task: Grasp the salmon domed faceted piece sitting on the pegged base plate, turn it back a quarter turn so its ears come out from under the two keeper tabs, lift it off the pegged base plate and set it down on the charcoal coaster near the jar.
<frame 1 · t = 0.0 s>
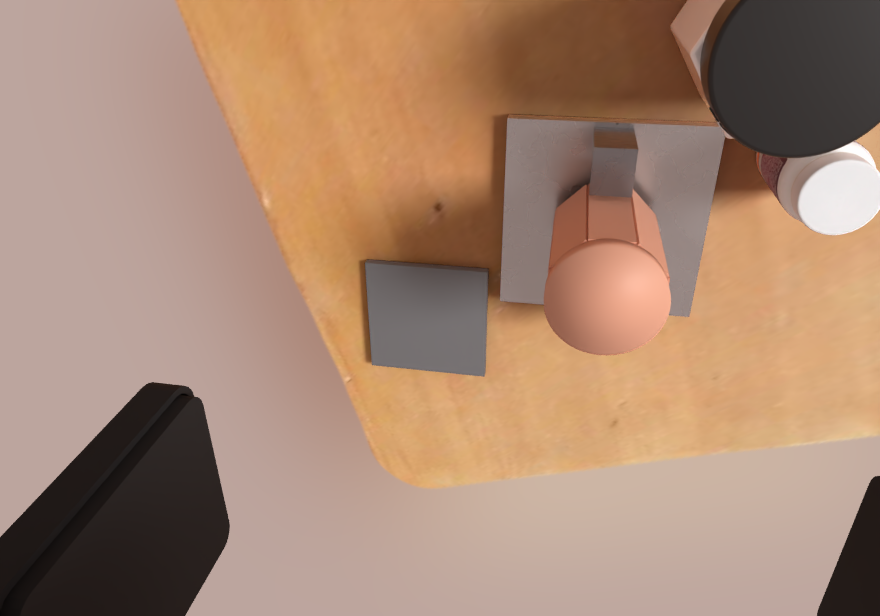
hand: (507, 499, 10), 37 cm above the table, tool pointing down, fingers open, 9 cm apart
jar: (752, 24, 39), on the table
pill bottle: (796, 149, 42), on the table
pegged base plate: (602, 216, 46), on the table
salmon domed faceted piece: (603, 231, 44), point 2 cm above the table, touching pegged base plate
coaster: (427, 317, 52), on the table
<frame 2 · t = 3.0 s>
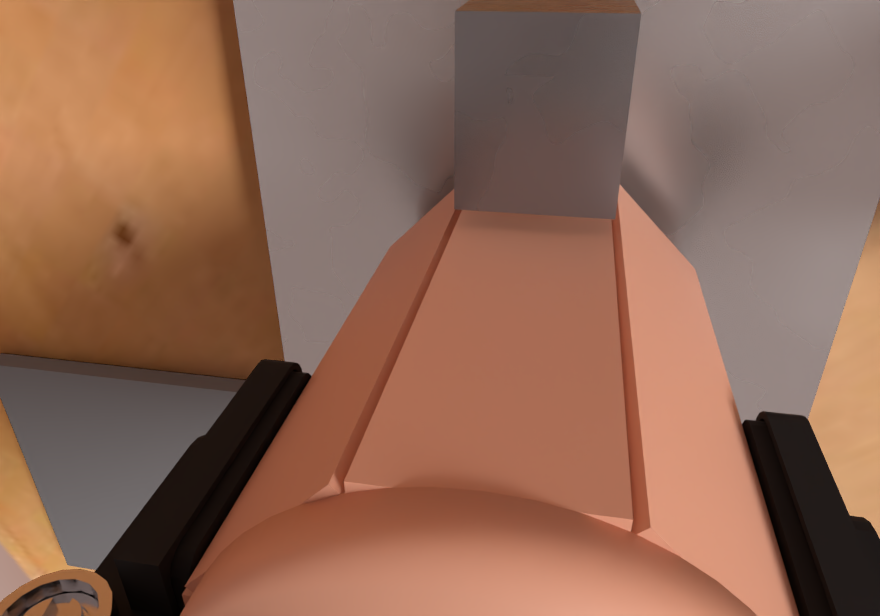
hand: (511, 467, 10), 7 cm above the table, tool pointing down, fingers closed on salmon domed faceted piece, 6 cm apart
pegged base plate: (540, 263, 17), on the table
salmon domed faceted piece: (533, 315, 14), point 2 cm above the table, touching gripper, pegged base plate
coaster: (162, 478, 23), on the table
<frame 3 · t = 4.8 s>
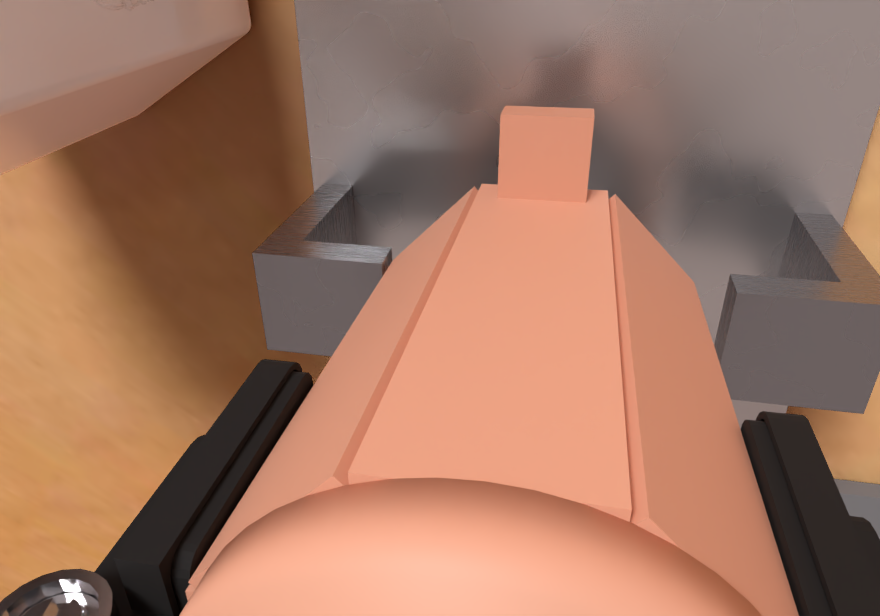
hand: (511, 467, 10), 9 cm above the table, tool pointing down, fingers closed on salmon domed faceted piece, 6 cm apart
pegged base plate: (559, 227, 18), on the table
salmon domed faceted piece: (534, 328, 15), point 5 cm above the table, touching gripper
coaster: (805, 580, 23), on the table
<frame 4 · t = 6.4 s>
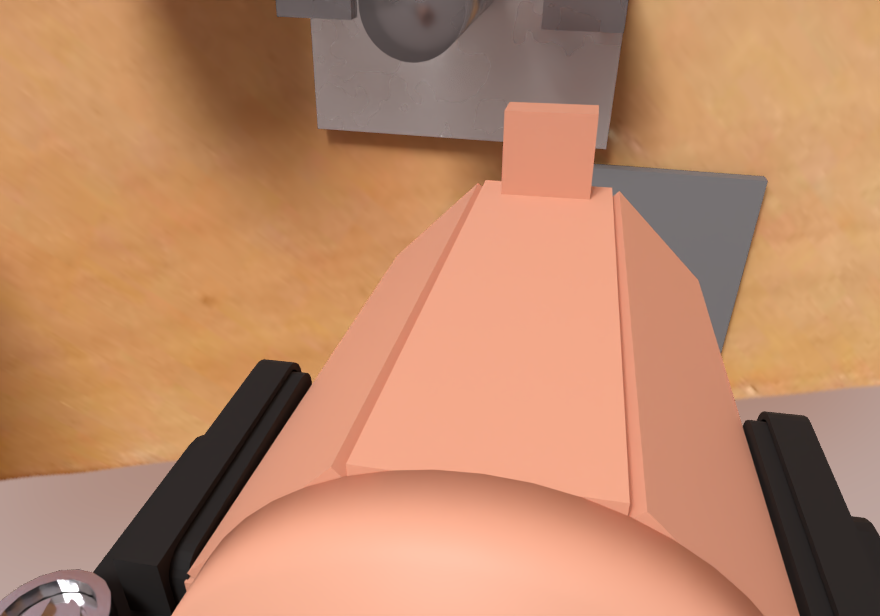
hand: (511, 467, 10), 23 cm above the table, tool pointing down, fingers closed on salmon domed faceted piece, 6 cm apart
salmon domed faceted piece: (537, 325, 15), point 18 cm above the table, touching gripper
coaster: (641, 259, 33), on the table
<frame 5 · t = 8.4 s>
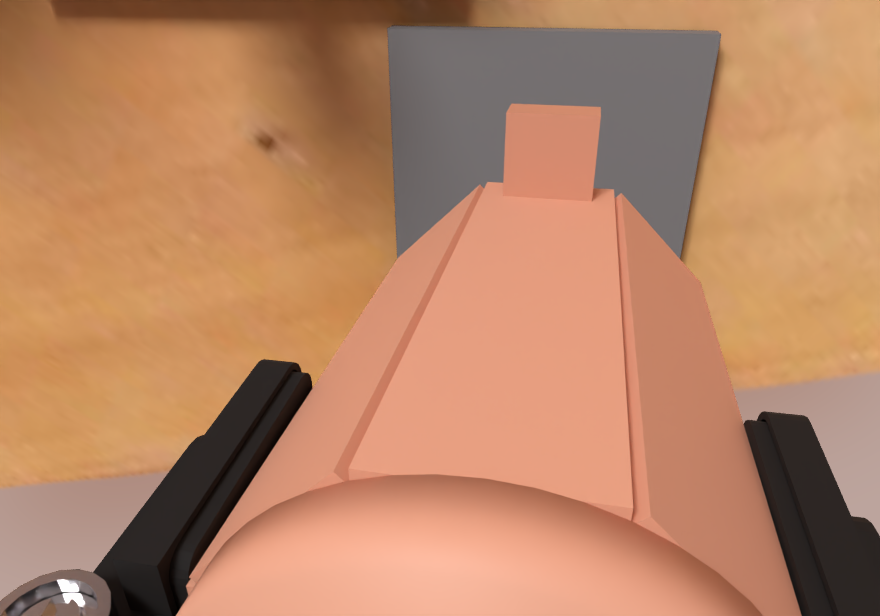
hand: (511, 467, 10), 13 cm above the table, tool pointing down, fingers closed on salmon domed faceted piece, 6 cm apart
salmon domed faceted piece: (539, 327, 15), point 8 cm above the table, touching gripper
coaster: (538, 182, 21), on the table
when the fingers open (7 cm above the table, at t = 9.9 s): salmon domed faceted piece drops 1 cm, resting on coaster.
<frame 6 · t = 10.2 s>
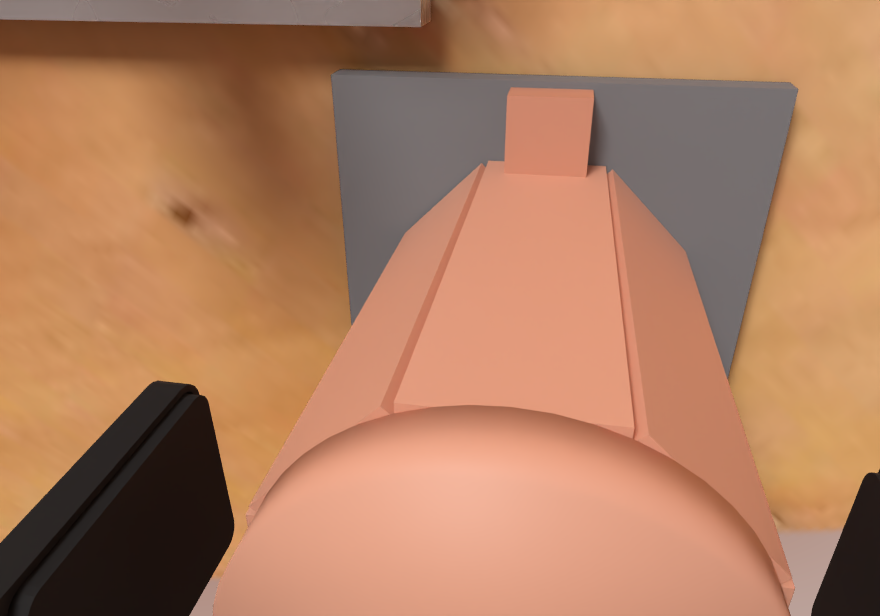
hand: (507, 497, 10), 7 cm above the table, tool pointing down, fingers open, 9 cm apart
salmon domed faceted piece: (536, 296, 16), point 1 cm above the table, touching coaster
coaster: (538, 274, 16), on the table
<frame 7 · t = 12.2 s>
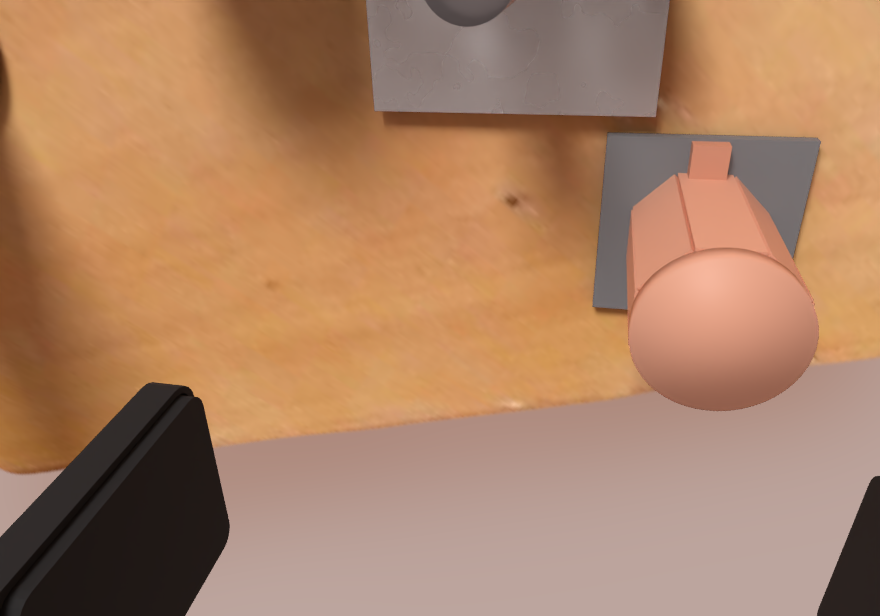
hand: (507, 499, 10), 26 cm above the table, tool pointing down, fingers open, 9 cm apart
salmon domed faceted piece: (695, 236, 33), point 1 cm above the table, touching coaster
coaster: (694, 227, 33), on the table
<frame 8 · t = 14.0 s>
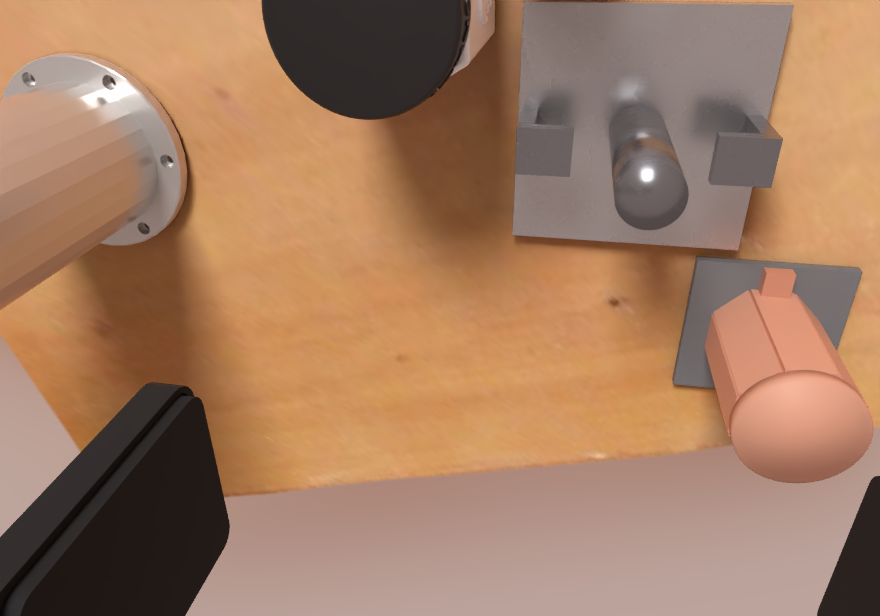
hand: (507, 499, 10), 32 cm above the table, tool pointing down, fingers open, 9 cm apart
pegged base plate: (636, 128, 38), on the table
salmon domed faceted piece: (760, 335, 42), point 1 cm above the table, touching coaster
coaster: (759, 327, 43), on the table
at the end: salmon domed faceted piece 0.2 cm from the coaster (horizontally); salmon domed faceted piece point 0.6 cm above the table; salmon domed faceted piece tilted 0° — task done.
